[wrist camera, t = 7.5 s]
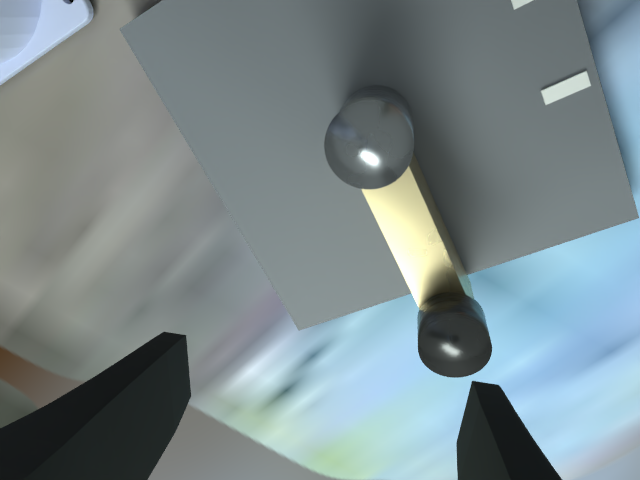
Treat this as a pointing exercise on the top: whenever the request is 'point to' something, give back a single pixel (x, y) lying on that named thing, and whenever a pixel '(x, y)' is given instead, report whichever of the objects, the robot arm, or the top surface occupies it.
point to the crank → (410, 226)
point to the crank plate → (428, 118)
